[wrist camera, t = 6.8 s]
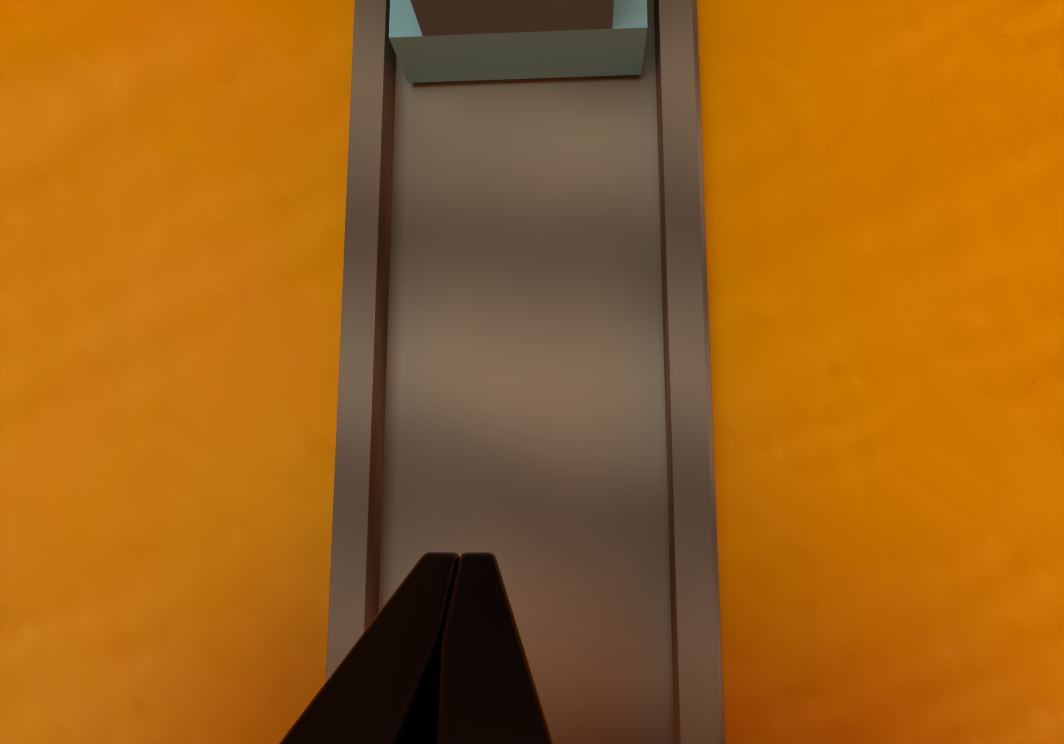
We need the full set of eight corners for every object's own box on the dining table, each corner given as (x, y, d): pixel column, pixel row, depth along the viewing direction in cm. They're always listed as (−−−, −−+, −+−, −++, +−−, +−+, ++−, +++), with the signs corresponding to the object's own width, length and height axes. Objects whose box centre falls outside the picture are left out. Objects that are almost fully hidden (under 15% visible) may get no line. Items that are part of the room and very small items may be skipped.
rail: (716, 816, 19) (786, 979, 12) (343, 806, 19) (221, 957, 13) (682, -146, 23) (719, -398, 17) (378, -130, 24) (302, -367, 17)
